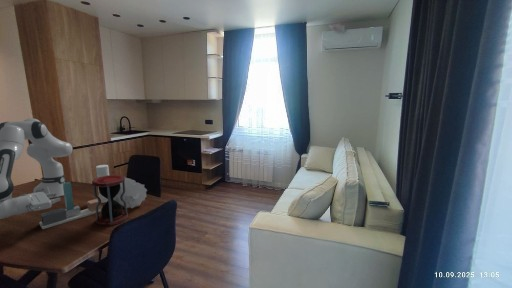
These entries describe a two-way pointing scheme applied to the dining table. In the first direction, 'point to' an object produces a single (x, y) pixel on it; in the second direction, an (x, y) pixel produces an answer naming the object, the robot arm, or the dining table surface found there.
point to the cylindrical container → (101, 171)
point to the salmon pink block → (93, 205)
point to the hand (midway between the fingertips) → (58, 196)
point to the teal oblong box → (69, 200)
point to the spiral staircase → (131, 193)
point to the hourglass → (110, 200)
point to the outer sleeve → (53, 216)
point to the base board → (70, 218)
